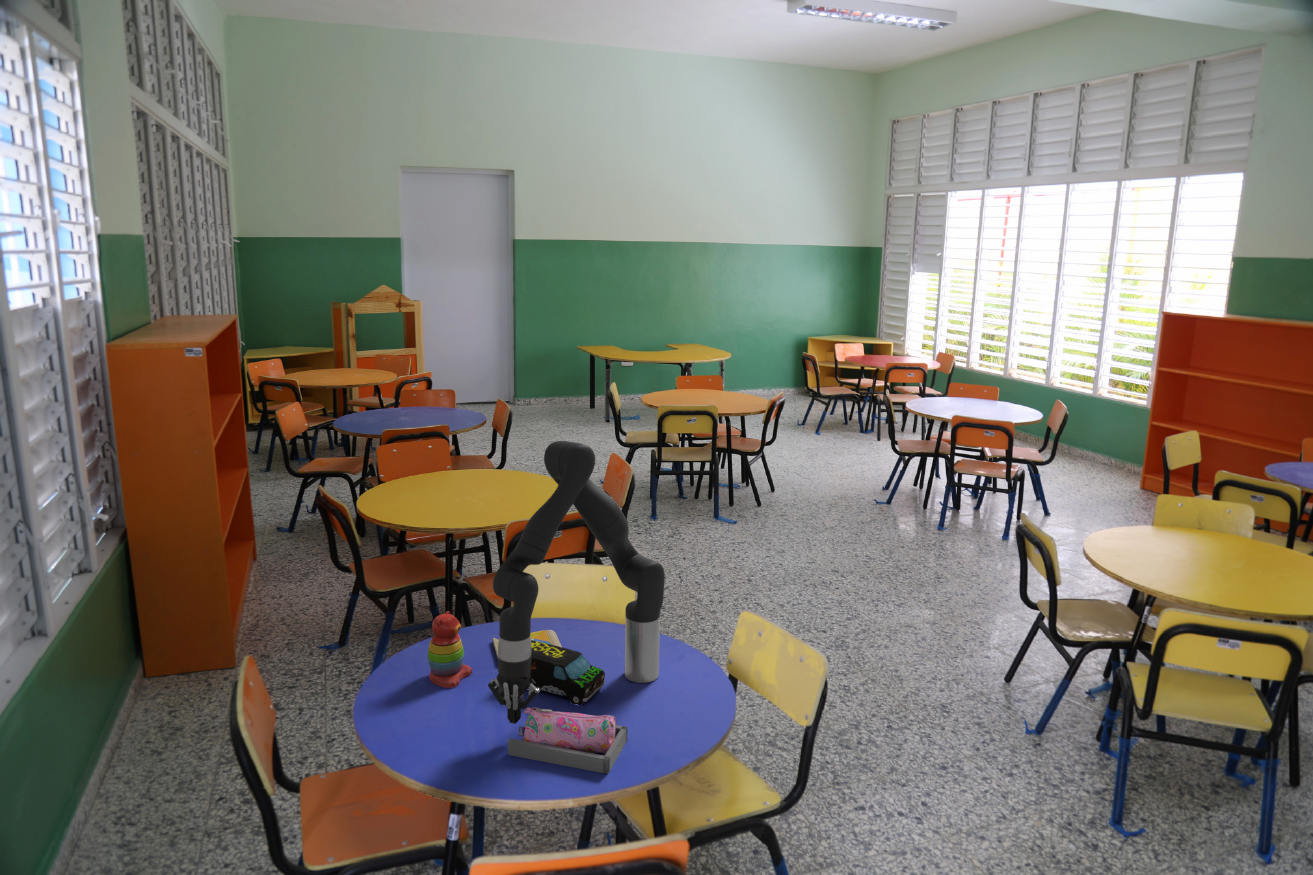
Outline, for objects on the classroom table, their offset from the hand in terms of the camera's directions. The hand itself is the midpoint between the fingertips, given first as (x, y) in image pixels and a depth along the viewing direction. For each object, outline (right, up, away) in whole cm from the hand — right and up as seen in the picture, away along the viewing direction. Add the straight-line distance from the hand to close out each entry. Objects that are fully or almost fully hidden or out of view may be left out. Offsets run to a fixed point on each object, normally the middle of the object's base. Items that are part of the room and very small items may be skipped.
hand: (514, 721), depth 198 cm
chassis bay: (+13, -5, -2) cm, 14 cm away
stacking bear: (-22, +2, +29) cm, 37 cm away
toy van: (+7, 0, +24) cm, 25 cm away
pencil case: (+13, -5, -3) cm, 14 cm away
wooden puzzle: (-3, +5, +45) cm, 45 cm away
